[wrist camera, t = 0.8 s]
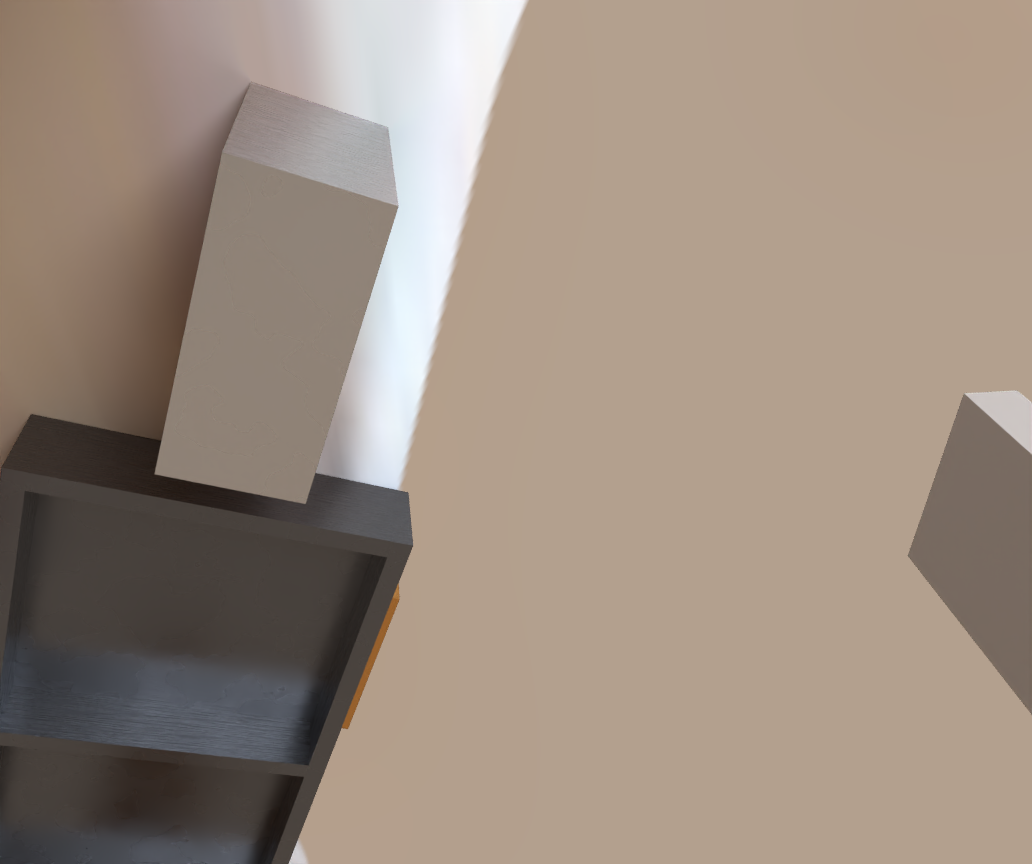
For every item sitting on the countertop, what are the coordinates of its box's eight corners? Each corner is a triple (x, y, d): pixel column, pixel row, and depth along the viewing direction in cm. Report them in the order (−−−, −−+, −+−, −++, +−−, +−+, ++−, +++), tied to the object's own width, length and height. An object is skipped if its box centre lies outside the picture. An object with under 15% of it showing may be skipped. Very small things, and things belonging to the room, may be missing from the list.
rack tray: (-25, 858, 47) (-51, 926, 44) (31, 414, 34) (1, 467, 31) (270, 878, 52) (265, 940, 49) (417, 494, 39) (422, 547, 36)
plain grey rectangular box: (192, 349, 34) (154, 474, 27) (251, 81, 29) (222, 152, 23) (314, 378, 35) (305, 503, 29) (388, 126, 31) (398, 206, 24)
